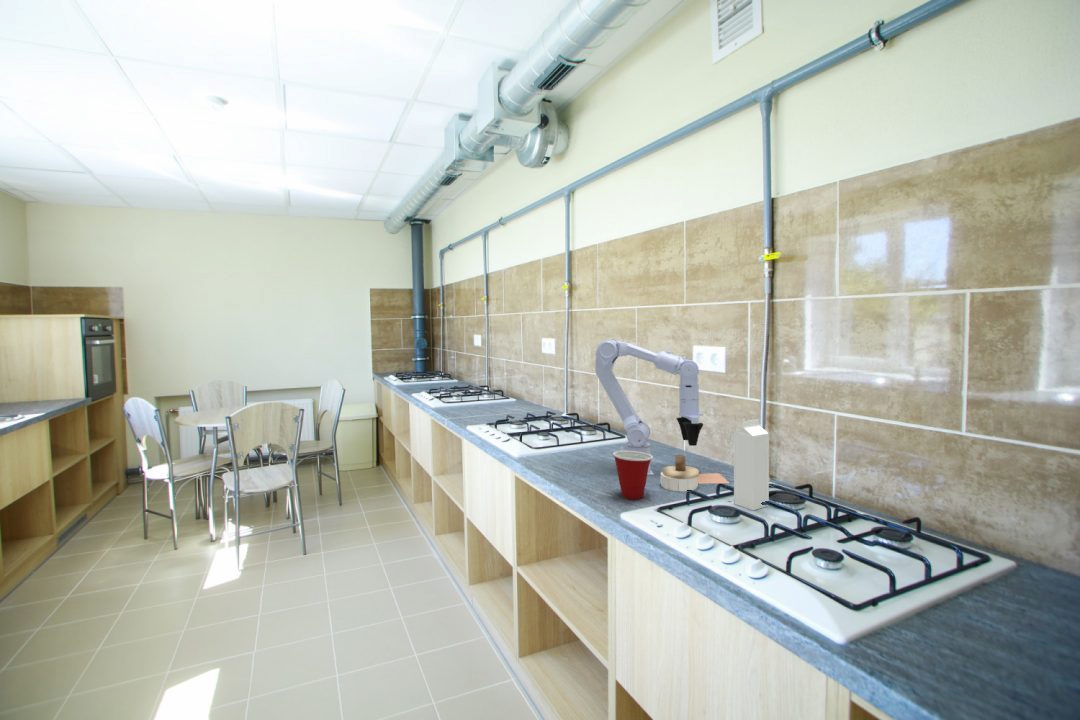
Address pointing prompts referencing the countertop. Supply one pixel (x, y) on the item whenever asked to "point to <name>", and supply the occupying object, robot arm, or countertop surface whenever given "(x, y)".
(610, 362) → the robot arm
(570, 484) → the countertop surface
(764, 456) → the milk
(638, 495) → the plastic cup
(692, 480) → the bowl
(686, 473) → the lid
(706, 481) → the mat
